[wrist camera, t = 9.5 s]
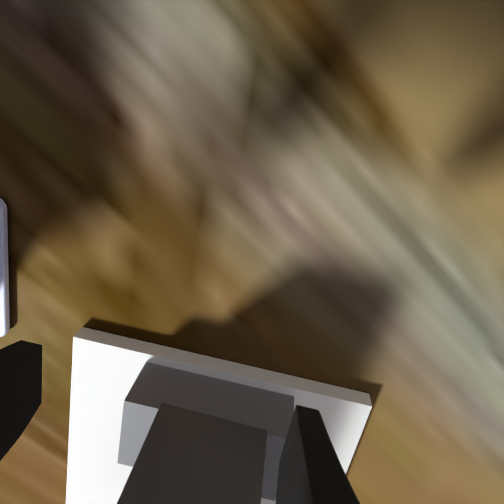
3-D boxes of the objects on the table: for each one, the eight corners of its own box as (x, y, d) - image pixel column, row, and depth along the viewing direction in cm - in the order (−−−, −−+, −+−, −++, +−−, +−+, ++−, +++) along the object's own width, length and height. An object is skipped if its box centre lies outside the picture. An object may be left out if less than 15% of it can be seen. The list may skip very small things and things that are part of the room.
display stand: (72, 512, 29) (38, 575, 25) (82, 326, 23) (40, 372, 19) (302, 568, 28) (302, 641, 24) (369, 393, 23) (382, 453, 19)
